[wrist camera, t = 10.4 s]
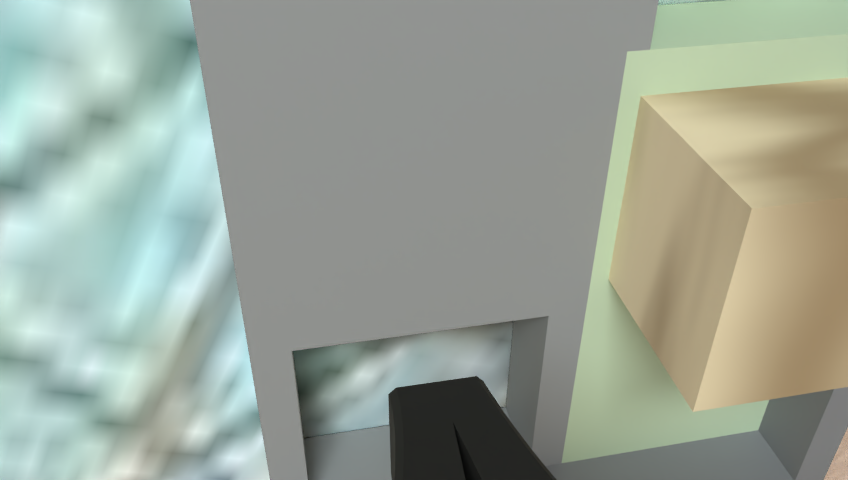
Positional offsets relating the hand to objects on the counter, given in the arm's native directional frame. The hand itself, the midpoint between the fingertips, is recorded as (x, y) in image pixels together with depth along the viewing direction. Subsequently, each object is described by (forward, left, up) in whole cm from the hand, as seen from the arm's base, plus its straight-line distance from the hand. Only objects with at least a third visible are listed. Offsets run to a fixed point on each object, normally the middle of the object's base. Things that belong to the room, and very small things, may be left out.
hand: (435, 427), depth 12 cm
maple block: (-8, +1, -7) cm, 11 cm away
